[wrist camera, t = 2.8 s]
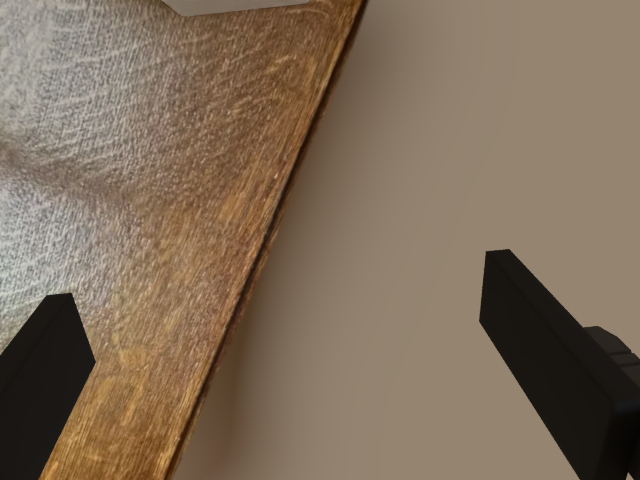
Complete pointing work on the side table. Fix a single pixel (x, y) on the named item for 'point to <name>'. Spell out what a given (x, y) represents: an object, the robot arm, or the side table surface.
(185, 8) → the white book
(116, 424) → the side table surface
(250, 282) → the side table surface
